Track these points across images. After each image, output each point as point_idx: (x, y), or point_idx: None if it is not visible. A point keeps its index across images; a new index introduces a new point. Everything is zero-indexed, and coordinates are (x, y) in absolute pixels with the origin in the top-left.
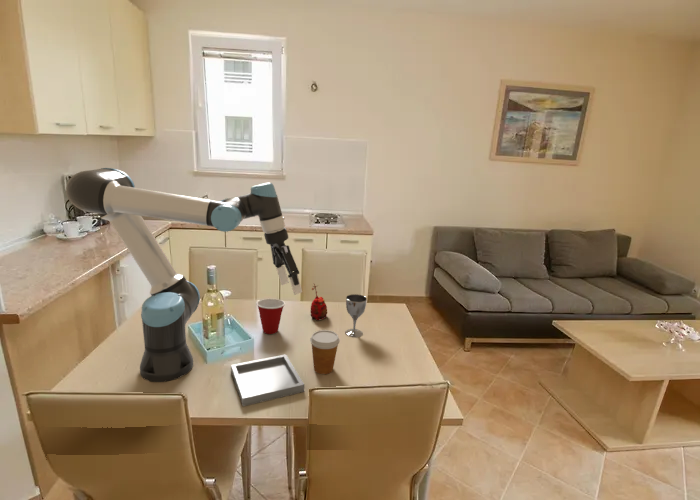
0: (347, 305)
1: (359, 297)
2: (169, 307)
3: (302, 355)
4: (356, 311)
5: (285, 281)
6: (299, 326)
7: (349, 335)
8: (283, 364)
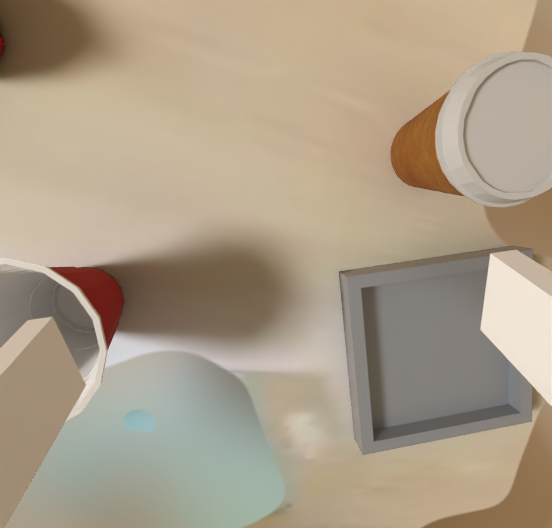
0: None
1: None
2: None
3: (317, 206)
4: None
5: (53, 364)
6: (62, 163)
7: None
8: (374, 287)
